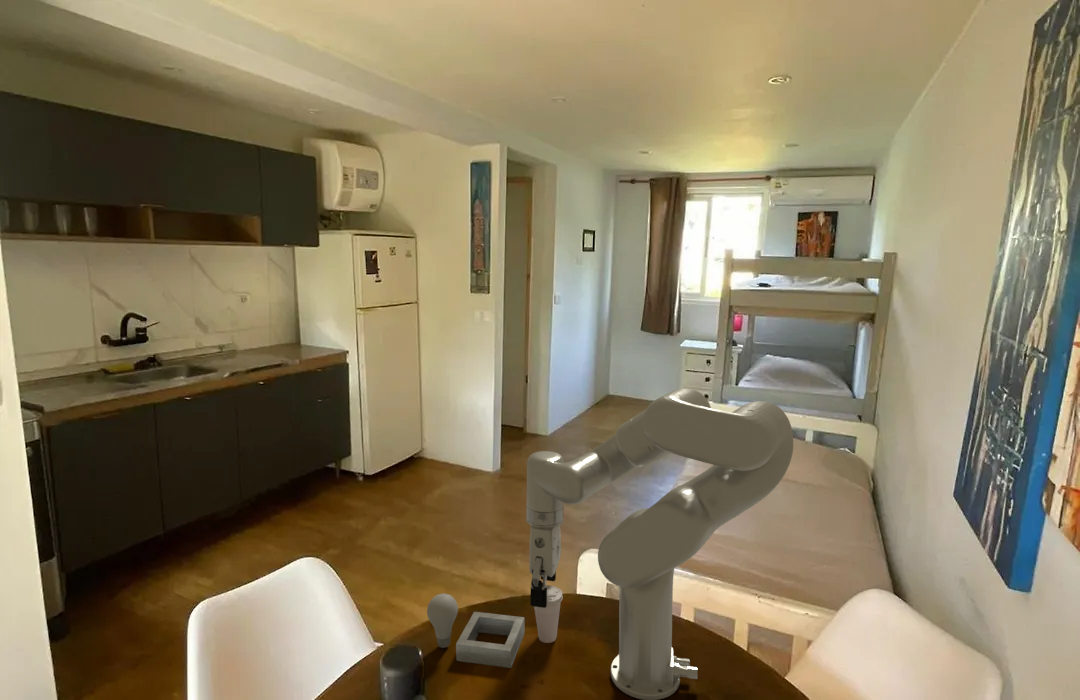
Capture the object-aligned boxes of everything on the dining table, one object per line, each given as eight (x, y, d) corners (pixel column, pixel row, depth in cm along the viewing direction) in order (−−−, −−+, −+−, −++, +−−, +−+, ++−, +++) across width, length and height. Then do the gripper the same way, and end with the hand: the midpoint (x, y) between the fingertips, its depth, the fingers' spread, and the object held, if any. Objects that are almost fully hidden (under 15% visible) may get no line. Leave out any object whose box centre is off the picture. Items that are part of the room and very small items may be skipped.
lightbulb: (452, 658, 109) (451, 605, 108) (423, 654, 111) (421, 602, 109) (463, 639, 115) (461, 589, 114) (435, 635, 117) (433, 586, 115)
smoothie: (538, 625, 120) (537, 563, 118) (567, 631, 117) (566, 568, 116) (527, 643, 114) (526, 578, 112) (557, 650, 112) (556, 584, 110)
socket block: (524, 632, 117) (524, 617, 117) (511, 668, 106) (510, 651, 106) (474, 626, 119) (474, 611, 119) (456, 660, 109) (455, 644, 108)
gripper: (555, 534, 104) (553, 620, 106) (570, 498, 120) (568, 573, 123) (516, 530, 105) (515, 614, 107) (535, 495, 122) (534, 568, 124)
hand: (543, 592), depth 115 cm, fingers open, 9 cm apart
